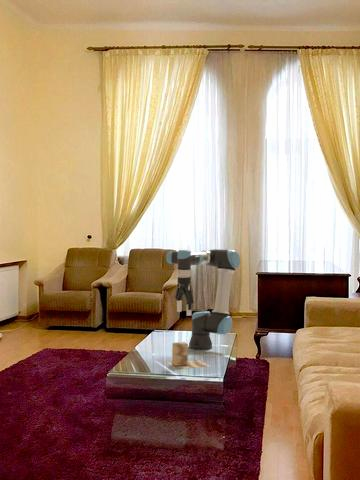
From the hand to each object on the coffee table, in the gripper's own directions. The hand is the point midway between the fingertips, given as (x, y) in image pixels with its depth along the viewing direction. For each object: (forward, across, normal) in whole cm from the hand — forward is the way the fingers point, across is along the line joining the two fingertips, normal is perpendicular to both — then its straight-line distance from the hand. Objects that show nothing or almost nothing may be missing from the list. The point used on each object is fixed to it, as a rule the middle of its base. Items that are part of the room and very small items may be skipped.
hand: (184, 313), depth 315 cm
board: (+27, +12, -3) cm, 30 cm away
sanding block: (+26, +12, -8) cm, 30 cm away
